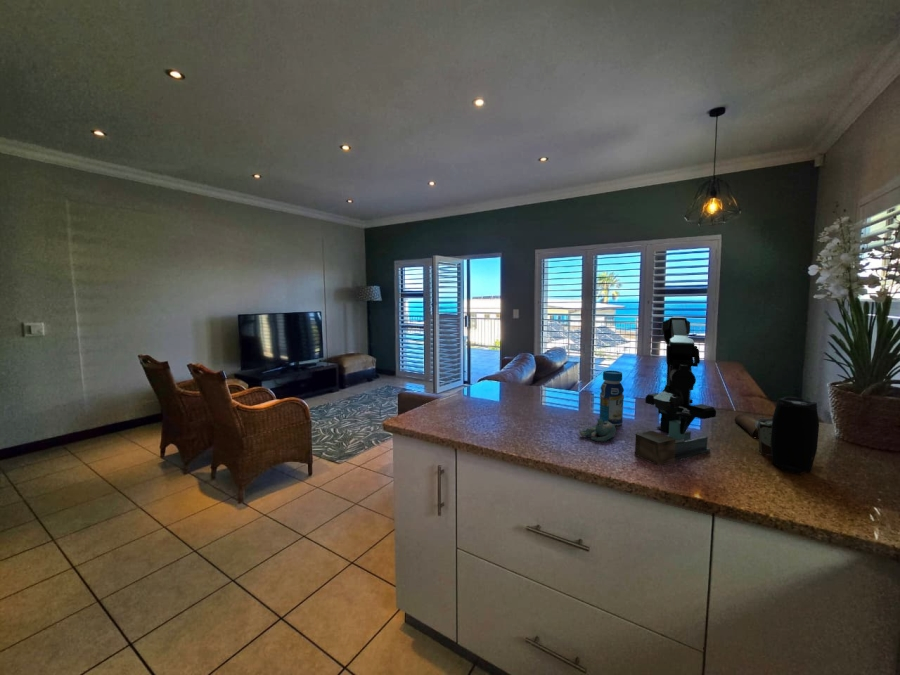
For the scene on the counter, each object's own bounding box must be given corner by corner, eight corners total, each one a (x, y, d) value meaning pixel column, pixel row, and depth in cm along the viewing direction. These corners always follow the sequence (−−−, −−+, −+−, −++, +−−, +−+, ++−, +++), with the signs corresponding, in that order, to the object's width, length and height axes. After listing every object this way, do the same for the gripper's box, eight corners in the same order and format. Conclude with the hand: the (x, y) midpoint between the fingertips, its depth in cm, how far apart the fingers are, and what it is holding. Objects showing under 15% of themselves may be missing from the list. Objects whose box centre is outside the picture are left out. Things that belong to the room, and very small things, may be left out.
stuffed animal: (573, 417, 130) (607, 411, 129) (576, 436, 130) (610, 430, 129) (583, 427, 119) (619, 421, 118) (586, 448, 120) (623, 442, 119)
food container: (793, 451, 112) (796, 419, 111) (805, 459, 106) (808, 426, 105) (745, 446, 116) (748, 416, 115) (754, 453, 110) (757, 422, 109)
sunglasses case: (784, 441, 120) (772, 423, 120) (760, 449, 122) (749, 431, 123) (760, 424, 136) (750, 408, 137) (740, 431, 139) (731, 416, 140)
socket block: (650, 450, 113) (651, 430, 112) (675, 461, 105) (676, 439, 105) (634, 454, 110) (635, 433, 109) (658, 465, 103) (659, 443, 102)
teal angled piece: (673, 445, 113) (675, 419, 113) (684, 449, 110) (686, 423, 109) (644, 452, 108) (645, 425, 108) (655, 456, 105) (656, 429, 104)
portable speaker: (823, 476, 96) (830, 404, 94) (785, 475, 96) (792, 404, 95) (795, 462, 104) (801, 396, 102) (760, 461, 105) (766, 395, 103)
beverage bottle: (601, 417, 145) (603, 369, 144) (624, 421, 140) (626, 371, 139) (596, 423, 139) (598, 372, 137) (620, 427, 134) (622, 374, 132)
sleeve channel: (684, 442, 119) (685, 429, 118) (710, 452, 112) (710, 438, 111) (650, 450, 113) (651, 437, 112) (675, 461, 105) (675, 446, 105)
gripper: (634, 379, 115) (632, 426, 116) (692, 392, 98) (689, 447, 99) (658, 376, 119) (656, 421, 121) (718, 388, 102) (715, 441, 103)
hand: (676, 432), depth 111 cm, fingers closed on teal angled piece, 3 cm apart
